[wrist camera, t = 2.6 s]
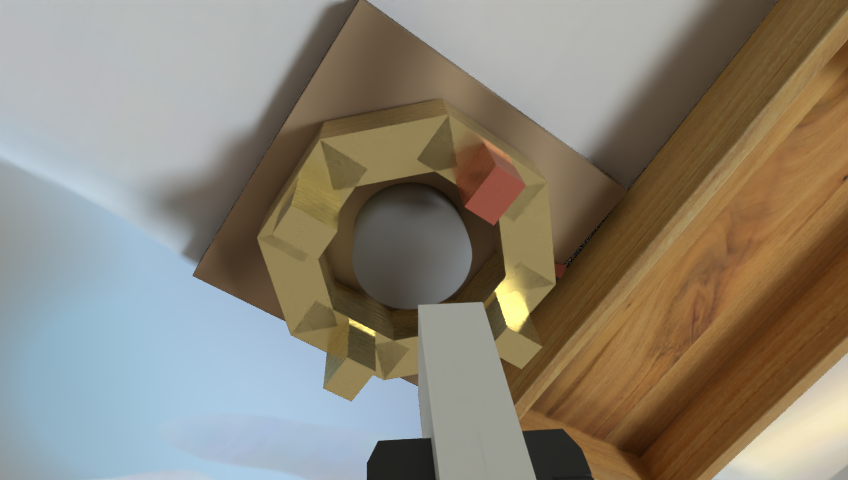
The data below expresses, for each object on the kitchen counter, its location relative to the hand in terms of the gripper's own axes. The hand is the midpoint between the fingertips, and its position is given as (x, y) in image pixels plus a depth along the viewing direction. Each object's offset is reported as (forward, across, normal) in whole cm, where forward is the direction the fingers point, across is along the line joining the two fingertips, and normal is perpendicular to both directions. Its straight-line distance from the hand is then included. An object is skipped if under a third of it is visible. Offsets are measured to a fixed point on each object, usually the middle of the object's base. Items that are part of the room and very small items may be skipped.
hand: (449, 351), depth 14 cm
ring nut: (+17, 0, -6) cm, 18 cm away
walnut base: (+19, 0, -6) cm, 20 cm away
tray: (+20, +18, -9) cm, 28 cm away
